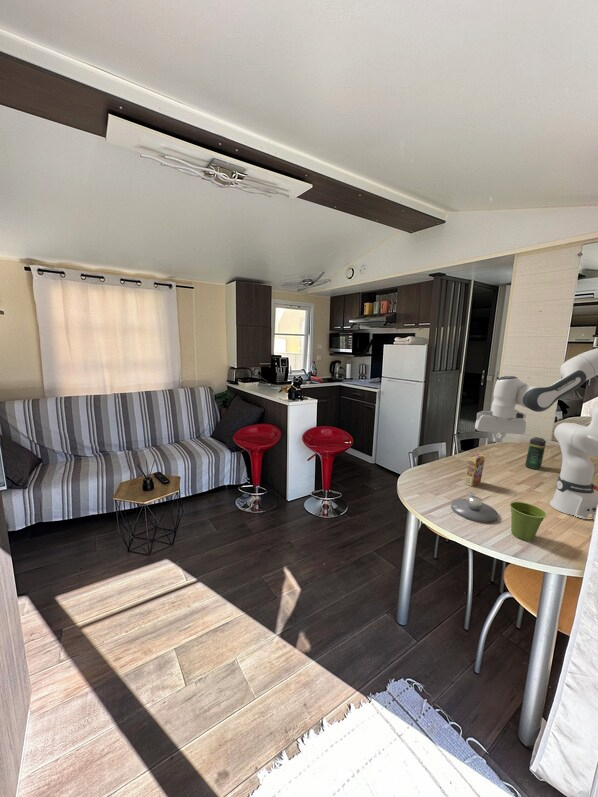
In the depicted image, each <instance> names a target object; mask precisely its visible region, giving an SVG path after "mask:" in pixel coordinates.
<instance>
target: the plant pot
mask: <svg viewBox="0 0 598 797" xmlns="http://www.w3.org/2000/svg"><path fill="white" fill-rule="evenodd" d="M509 507H510V513H511V525H510V527H511V530H510V531H511V534H512V535H513V536H514V537H515V538H518V539H519V540H520V539H522V540H524V541H526V540H528V541H529V542H530V541H531V540H532V541H533V540H534V539H535V537H536V535H537V532H538V530H539V528H540V525H541V524H542V523H543V521H544V518H547V517H548V514H547V512H546V511H545V510H543V509H542V508H540V507H538V506H536V505H533V504H530V503H528V502H523V501H511V502H509ZM528 541H527V542H528ZM532 541H531V542H532Z"/></svg>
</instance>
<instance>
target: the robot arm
mask: <svg viewBox="0 0 598 797" xmlns="http://www.w3.org/2000/svg"><path fill="white" fill-rule="evenodd" d="M559 373H560V376H561V378H560V379H558V380H557V381H555V382H553V383H552V384H550V385H549V386H548V385H547V386H535V385H531V384H528V383H527V382H524V381H521V380H520V379H519V377H517V376H513V375H505V376H501V377H499V378H497V380H496V382H495V385H494V390H493V395H492V397H493V400H492V403H491V407H490V408H491V409H490V411H489V410H488V411H487V410H481V411H479V412H477V413H476V421H475V424H474V429H475V430H476V431H478V432H486V433H491V435H492V437H493V442H495V443H502V442H503V439H504V438H505V437H506V435H507V434H512V435H513V434H514V435H524V434H525V433H526V430H527V422H526V420H525V419H526V418H527V415H526V414H525V413H523V412H521V411H519V410H517V409H515V408H516V406H517V405H518V406H521V407H524V408H527V409H529V410H531V411H533V412H536V413H537V412H538V413H541V412H544V411H547V410H548V409H550V408H551V407H552V406H553V405H554V404H555V403H556V402H557V401H558V400H560V399H561V398H564V397H565V396H567V395H568V394H570V393H571V392H573V391H574V390H576V389H578V388H580V387H582V385H583V384H584V383H585V382H586V381H588V380H591V379H592V378H595V379H596V380H598V347H597V348H592V349H591V350H588V351H585V352H581V353H579V354H578V355H575V356H574V357H573V356H572V357H571V358H569V359H567V360H566V361H564V362H562V364H561V366H560V368H559ZM588 413H589V417H590V418H591V419H590V420H591V421H590V423H589V425H587V426H586V425H583V424H579V423H575V422H561V423H559V424H558V425H557V426H556V427H555V429H554V432H553V434H554V437H555V440H556V441H557V442H558V445H559V448H560V453H561V469H560V473H559V475H558V478H557V482H556V489H555V492H554V494H553V497H552V498H551V500H550V502H549V505H550V507H552V508H553V509H554V510H556V511H559V512H561V513H564V514H565V515H569V514H570V516H572V515H574V516H573V517H575V516H576V517H575V518H577V517H579V518H582V519H581V520H583V519H587V518H589V517H588V515H589V514H592V517H590V518H592V519H593V520H592V521H595V520H594V515H595V512H596V506H597V504H598V494H597V493H596V492H595V491H597V492H598V485H597V484H593V483H592V482H593V477H594V473H595V466H594V463H593V462H592V461H591V459H590V457H589V456H593V457H598V400H597V401H596V403H594V404H593V405H592V407H591V408H590V409H589V412H588ZM498 434H500V435H499V437H497V436H498ZM579 518H578V519H579Z"/></svg>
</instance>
